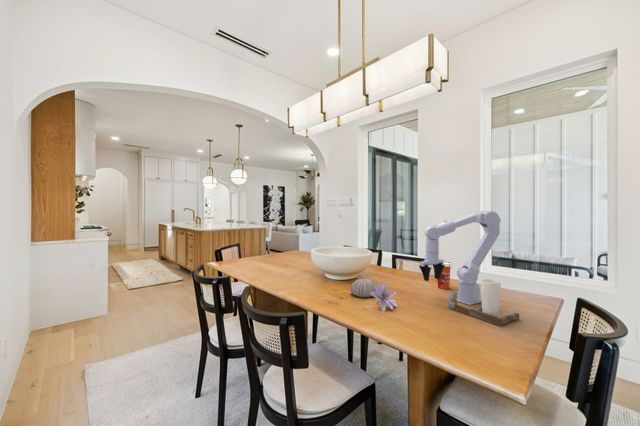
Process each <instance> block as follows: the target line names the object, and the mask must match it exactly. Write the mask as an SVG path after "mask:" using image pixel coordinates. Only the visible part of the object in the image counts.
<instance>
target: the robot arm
mask: <svg viewBox="0 0 640 426" xmlns="http://www.w3.org/2000/svg"><path fill="white" fill-rule="evenodd" d="M501 221H502V219H501V218H500V215H499V214H498V213H497V212H496V211H494V210H490V211H489V210H488V211H487V210H481V211H480V212H474V213H471V214H469V215H466V216H464V217H461V218H459V219H457V220H454V221H453V220H450V219H449V220H448V219H446V220H443V222H441V223H438V224H434V225H433V226H428V227H427V228H426V229H425V231H424V234H425V236H426V237H425V238H426V240H425V241H426V242H425V259H424V260H421V261H419V270H420V271H421V273H422V277H423V281H425V282H429V281H430V273H431V270H432V267H433V273H434V274H433V275H434V279H436V280H437V279H439V278H440V275H441V272H442V270H443V268H444V267H445V265H443V264H444V262H445V260H444V259H440V258H439V256H440V255H439V254H440V253H439V252H440V251H439V249H440V247H439V246H440V241H439V240H440V239H439V238H441V237H442V236H446V235H448V234H451V233H454V232H455V231H456V229H457V228H460V227H463V226H464V227H465V226H466V225H469V224H472V223H479V224H480V226H481V227H482V228H483V232H484V234H483V235H482V237H481V239H480V240H479V242H478V244H477V246H476V247H475V249H474V250H473V252H472V253H471V255H470V257H469V258H468V260H467V261H466V262H464V263H463V265H462V266H460V267H459V268H457V270H456V275H457V277H458V278H459V279H458V281H457V283H458V284H457V285H458V286H457V303H458V302H459V303H462V304H465V305H469V306H471V305H475V304H479V303H482V301H481V287H480V286H479V284H478V282H477V281H478V275H479V273H480V267H481V266H482V264H483V261H485V259H486V257H487V256H488V254H489V252H490V251H491V249H492V247H493V245H494V244H495V243H496V240H497V239H498V238H499V235H500V230H501V229H500V223H501ZM431 266H432V267H431Z"/></svg>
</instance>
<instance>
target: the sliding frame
mask: <svg viewBox="0 0 640 426" xmlns="http://www.w3.org/2000/svg"><path fill="white" fill-rule="evenodd" d="M457 298H458V291H453V290H452V291H451V290H450V291H448V309H450V310H452V311H453V310H455V311H457V312H460V313H462V314H466V315H469V316H471V317H474V318H477V319H479V320H482V321H484V322H488V323H490V324H493V325H496V326H498V327H502V326H503V325H506V324H508V323H511V322H514V321H516V320H520V313H518V312H514V313H511V314H509V315H504V316H501V317H499V316H498V317H495V316H492V315H490V314H487V313H484V312H482V306H480V307H477V308H468V307H466V306H463V305H459V304H458V301H457Z"/></svg>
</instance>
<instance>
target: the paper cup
mask: <svg viewBox="0 0 640 426" xmlns="http://www.w3.org/2000/svg"><path fill="white" fill-rule="evenodd" d="M443 265H445V267H444V268H443V270H442V272H441V275H440V278H439V279H436V280H437V281H436V282H437V288H438V289H441V290H449V289H450V283H451V282H450V281H451V267H452V264H451V262H447V261H444V264H443Z"/></svg>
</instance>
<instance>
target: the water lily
mask: <svg viewBox="0 0 640 426" xmlns="http://www.w3.org/2000/svg"><path fill="white" fill-rule="evenodd" d="M373 283H374V286H375V289H376V292H371V293H370V294H371V295H372V296H371V297H374V298H375V299H377V300H378V301H377V302H376V304H377V305H380V308H381V311H382V312H385V311H386V309H387V308H386V307H388V308H390V309H391V310H394V307H396V308H398V307H399V304H398V303H397V302H396V300H395V299H394V298H391V297H393V296H395V295H396V293H397V291H396V290H391V291H390V290H389V283H384V281H383V280H382V281H381V282H380V286H379V285H378V284H377V283H375V282H373ZM388 290H389V292H388ZM379 303H380V304H379Z"/></svg>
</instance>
